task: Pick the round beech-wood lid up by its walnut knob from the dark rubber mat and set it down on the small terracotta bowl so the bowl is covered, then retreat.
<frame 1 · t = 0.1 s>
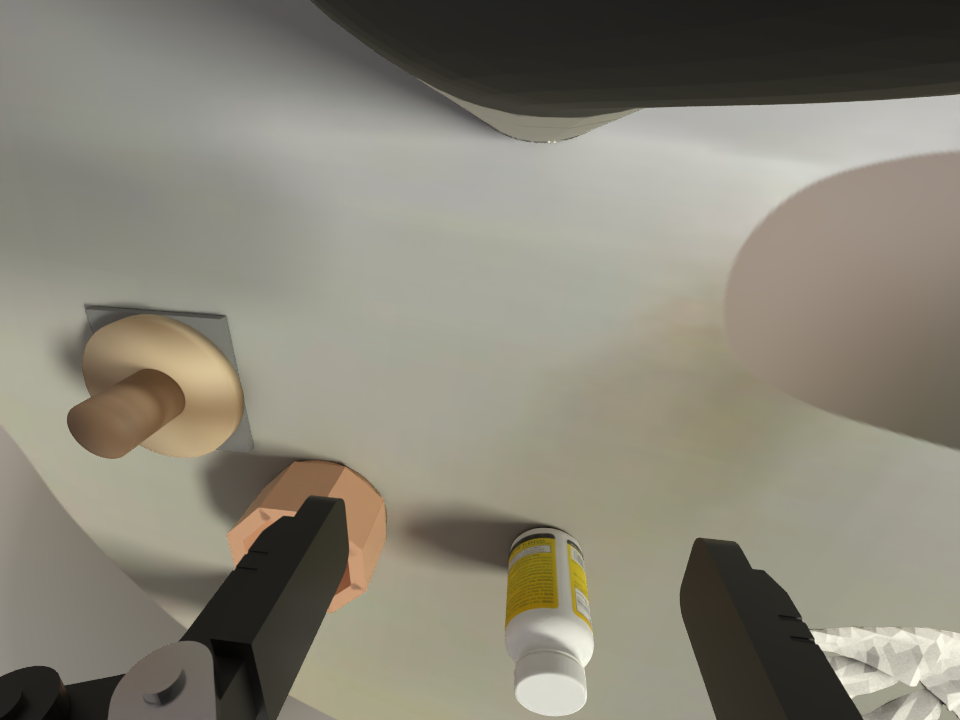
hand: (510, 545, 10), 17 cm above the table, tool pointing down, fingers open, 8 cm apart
bowl: (328, 508, 34), on the table
lid: (171, 385, 30), point 1 cm above the table, touching mat
supplement bottle: (545, 550, 34), on the table
mat: (178, 381, 31), on the table
cloth: (865, 678, 37), on the table
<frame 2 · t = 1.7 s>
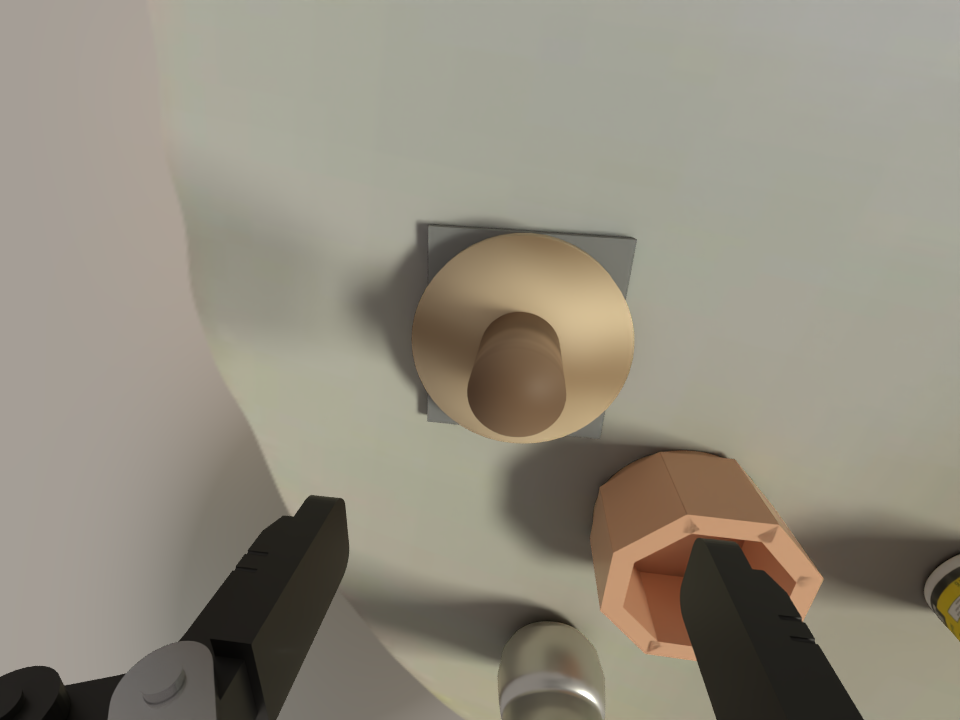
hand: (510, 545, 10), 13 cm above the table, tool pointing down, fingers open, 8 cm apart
bowl: (675, 517, 25), on the table
lid: (520, 340, 22), point 1 cm above the table, touching mat
mat: (520, 336, 22), on the table
plastic bottle: (549, 637, 31), on the table
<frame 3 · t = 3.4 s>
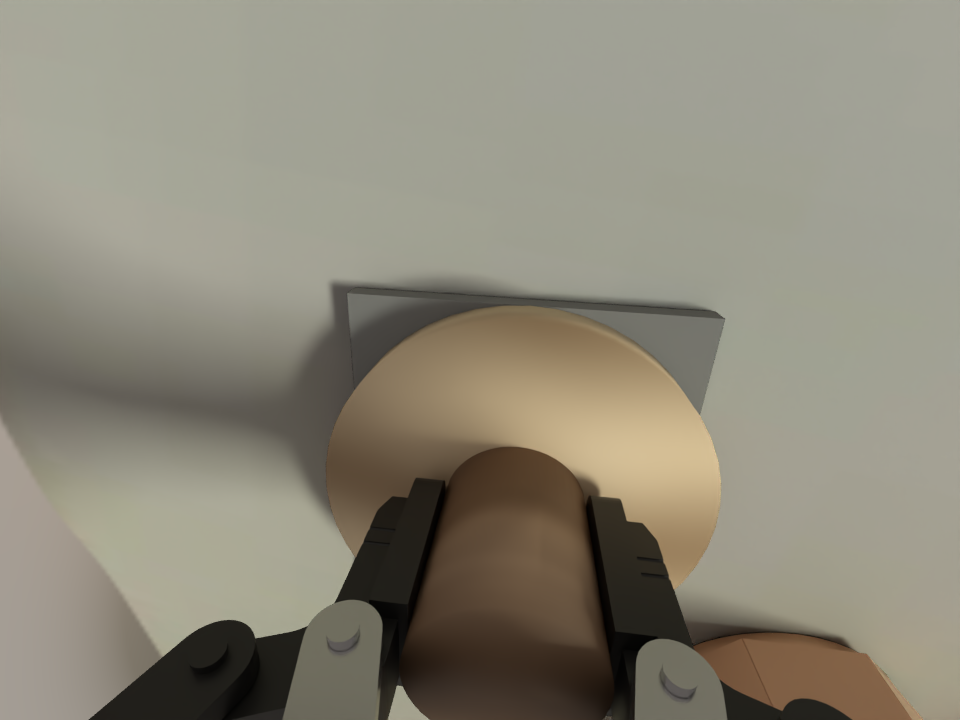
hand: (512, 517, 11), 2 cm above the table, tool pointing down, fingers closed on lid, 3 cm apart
bowl: (758, 719, 16), on the table
lid: (515, 477, 13), point 1 cm above the table, touching gripper, mat
mat: (515, 464, 13), on the table
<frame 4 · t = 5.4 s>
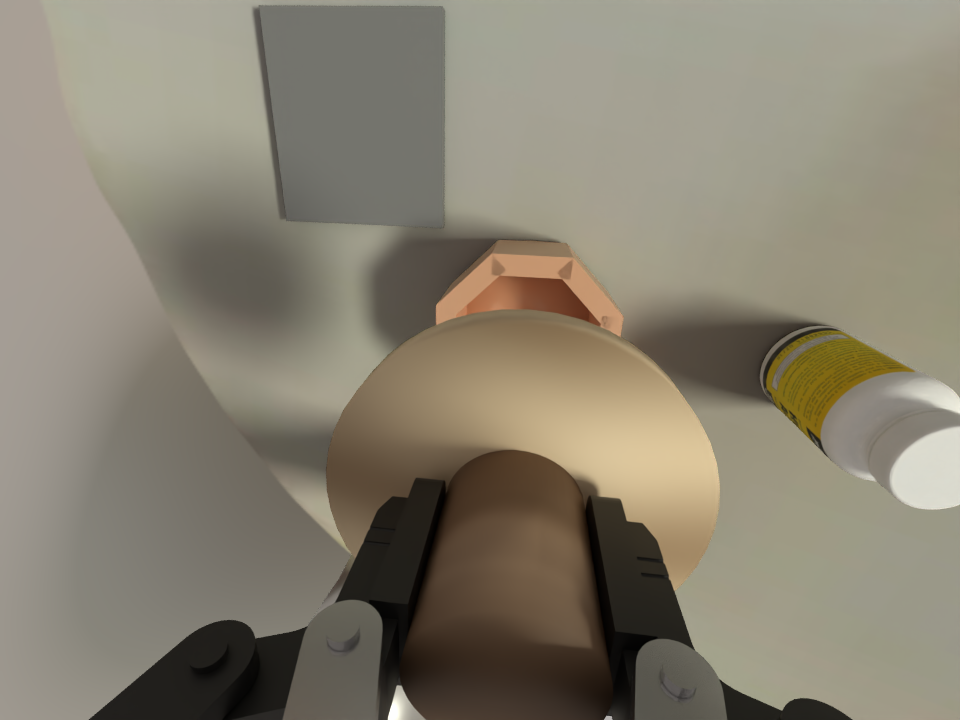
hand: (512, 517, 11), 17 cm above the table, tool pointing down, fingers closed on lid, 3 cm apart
bowl: (526, 317, 27), on the table
lid: (515, 479, 13), point 16 cm above the table, touching gripper
supplement bottle: (804, 366, 27), on the table
mat: (360, 125, 24), on the table
plastic bottle: (434, 465, 32), on the table
when the fingers open (8 cm above the table, at t = 7.4 s): lid drops 1 cm, resting on bowl.
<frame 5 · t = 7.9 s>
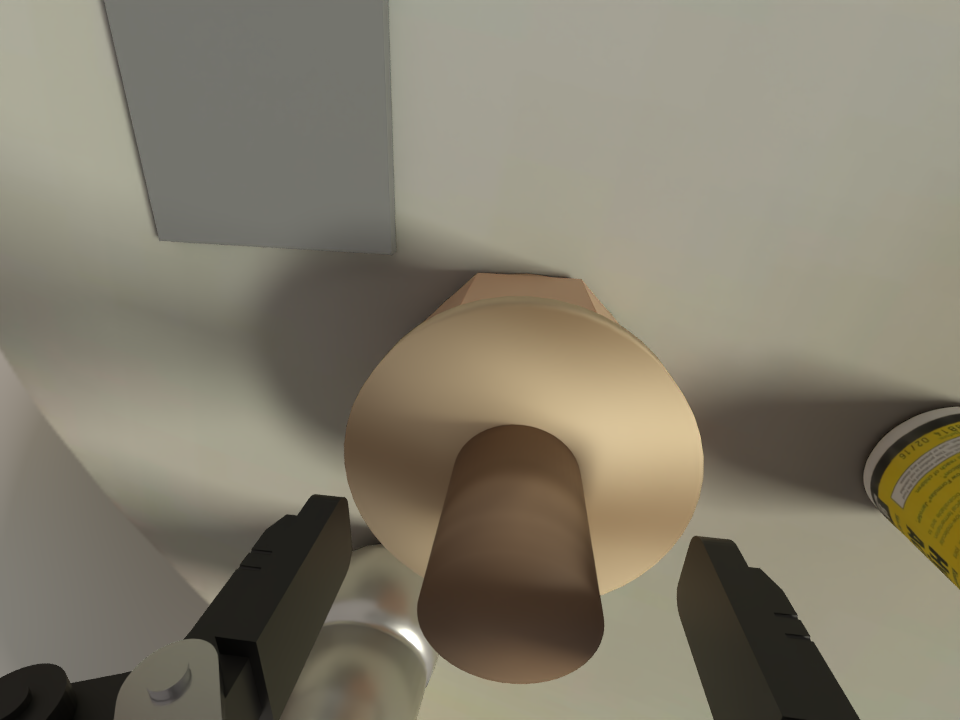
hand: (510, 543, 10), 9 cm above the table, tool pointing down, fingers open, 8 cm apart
bowl: (520, 383, 18), on the table
lid: (517, 455, 14), point 5 cm above the table, touching bowl
supplement bottle: (929, 459, 18), on the table
mat: (261, 95, 15), on the table
plastic bottle: (393, 571, 24), on the table
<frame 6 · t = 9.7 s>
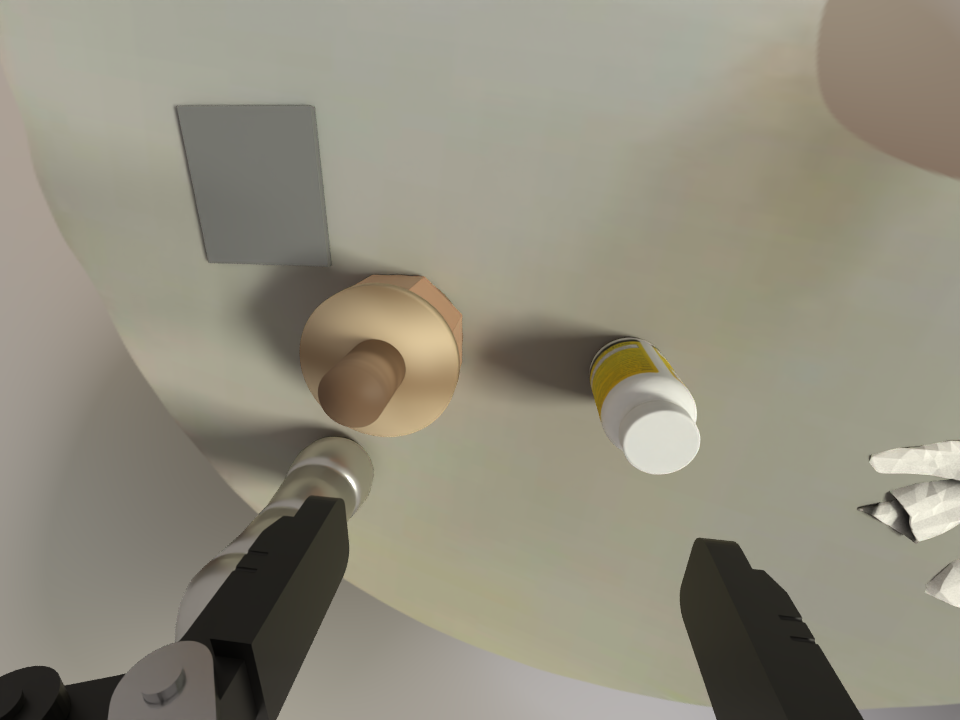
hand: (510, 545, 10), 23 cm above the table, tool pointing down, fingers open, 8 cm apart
bowl: (403, 334, 34), on the table
lid: (383, 359, 29), point 5 cm above the table, touching bowl
supplement bottle: (625, 370, 33), on the table
mat: (260, 189, 31), on the table
plastic bottle: (345, 458, 39), on the table
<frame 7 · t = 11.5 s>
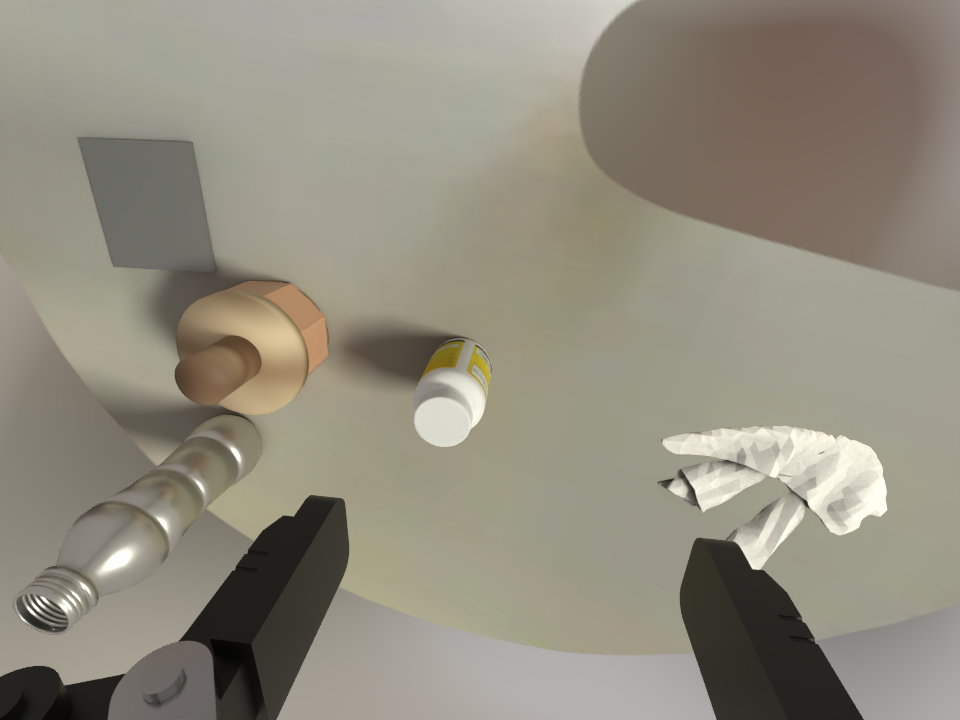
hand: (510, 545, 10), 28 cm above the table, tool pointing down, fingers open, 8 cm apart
bowl: (279, 330, 40), on the table
lid: (248, 351, 36), point 5 cm above the table, touching bowl
supplement bottle: (462, 364, 40), on the table
mat: (153, 207, 37), on the table
cloth: (744, 491, 43), on the table
plastic bottle: (241, 434, 45), on the table
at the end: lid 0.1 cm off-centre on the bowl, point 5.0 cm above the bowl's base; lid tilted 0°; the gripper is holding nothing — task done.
